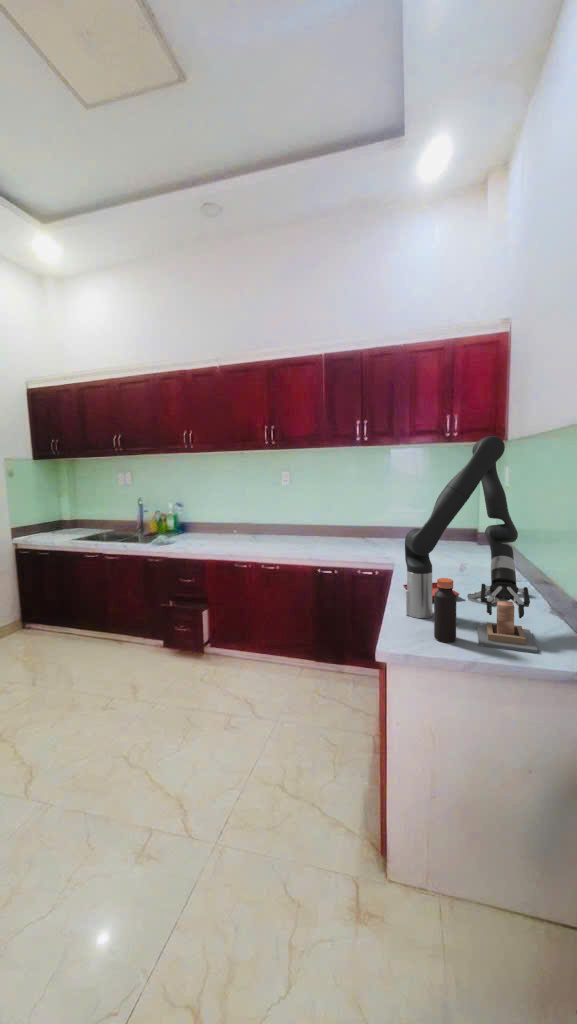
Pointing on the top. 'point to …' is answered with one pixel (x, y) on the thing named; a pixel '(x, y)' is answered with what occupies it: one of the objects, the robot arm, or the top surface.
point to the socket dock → (506, 638)
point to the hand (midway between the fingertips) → (505, 615)
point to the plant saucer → (434, 590)
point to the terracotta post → (505, 617)
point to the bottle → (445, 611)
